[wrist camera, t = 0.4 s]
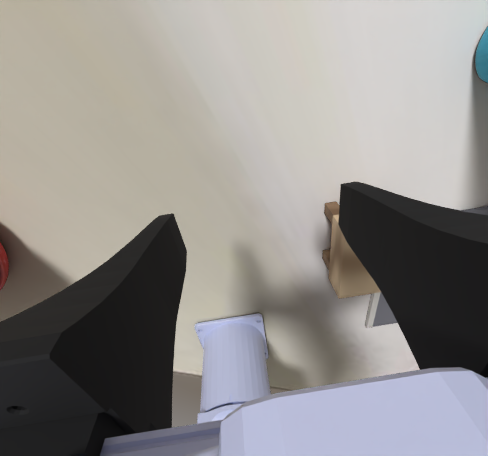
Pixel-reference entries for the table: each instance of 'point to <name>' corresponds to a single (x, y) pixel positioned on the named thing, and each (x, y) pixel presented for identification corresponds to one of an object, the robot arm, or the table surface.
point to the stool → (345, 262)
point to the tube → (482, 57)
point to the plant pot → (3, 266)
